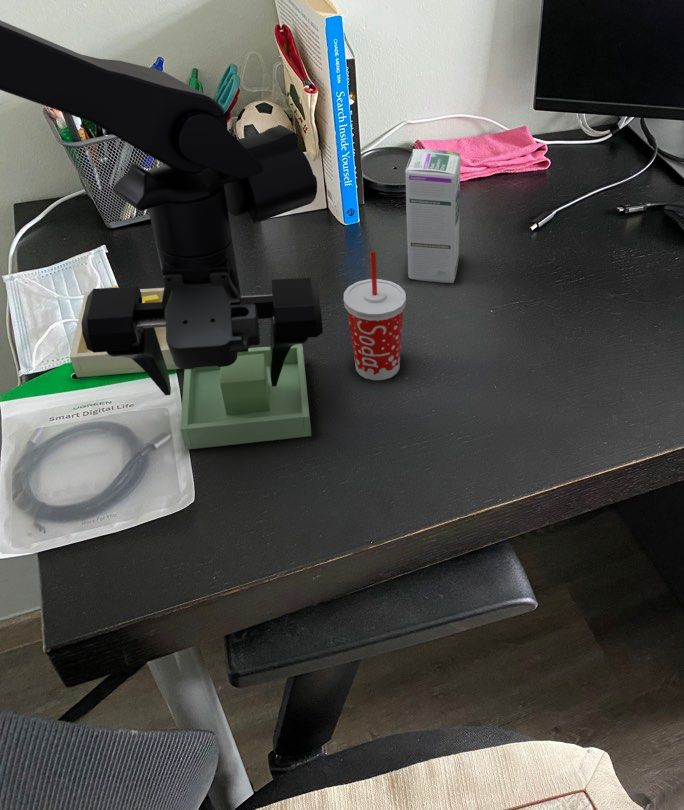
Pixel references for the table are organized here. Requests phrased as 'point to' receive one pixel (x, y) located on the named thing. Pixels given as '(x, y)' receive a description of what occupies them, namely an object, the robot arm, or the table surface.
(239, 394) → the green cube
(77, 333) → the cream tray
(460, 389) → the table surface
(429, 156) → the syrup box
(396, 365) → the beverage cup
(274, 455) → the table surface
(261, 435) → the green tray
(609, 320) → the table surface
